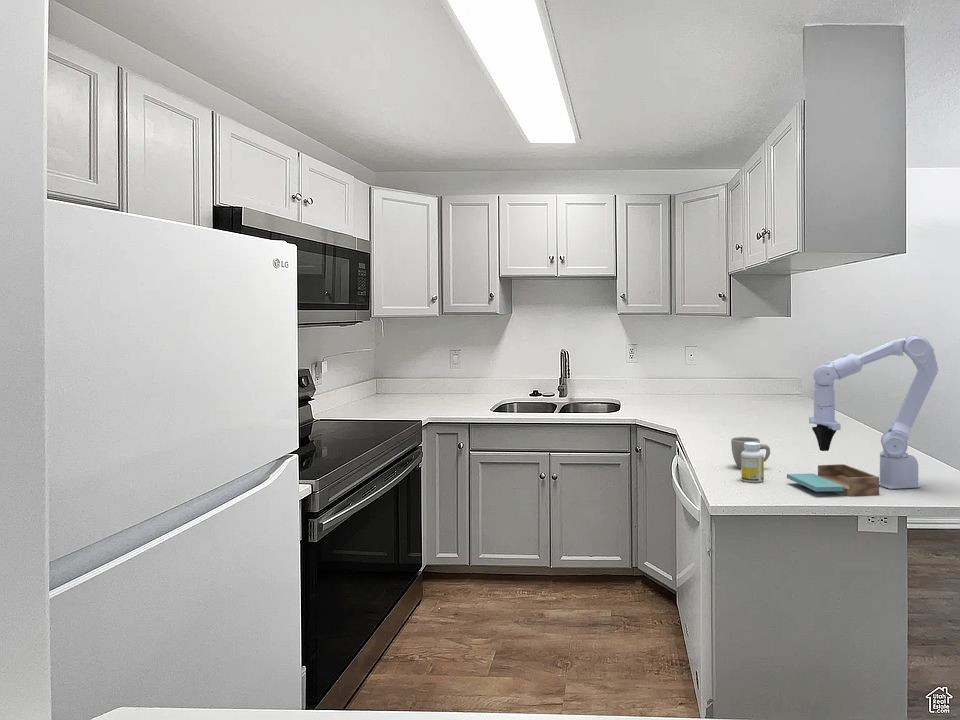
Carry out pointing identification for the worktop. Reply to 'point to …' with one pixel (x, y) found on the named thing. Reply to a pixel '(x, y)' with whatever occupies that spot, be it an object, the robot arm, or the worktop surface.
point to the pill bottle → (752, 463)
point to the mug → (739, 448)
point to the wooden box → (850, 479)
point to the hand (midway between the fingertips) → (824, 450)
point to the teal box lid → (815, 482)
